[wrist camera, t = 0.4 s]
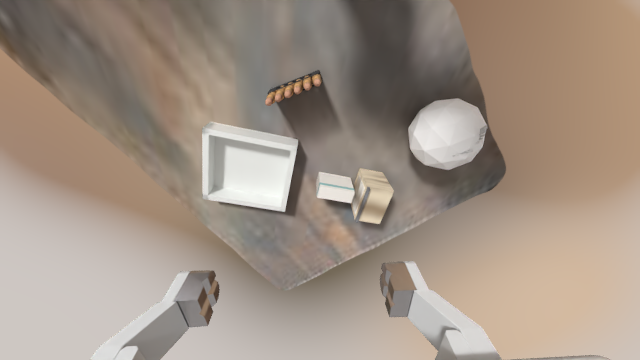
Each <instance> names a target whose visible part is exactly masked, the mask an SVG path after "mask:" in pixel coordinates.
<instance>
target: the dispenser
mask: <svg viewBox="0 0 640 360" xmlns="http://www.w3.org/2000/svg"><path fill="white" fill-rule="evenodd" d="M353 188H354V190H355V193H354V196H353V199H352V202H351V206H352V210H353V214H354V218H355V222H356V223H358V221H363V222H370V223H376V224H380V222H381V220H382V218H383V216H384V213H385V211H386V209H387V206H388V204H389V202H390V199H391V197H392V195H393V192H394V191H393V189H392V188H391V186H390V184H389V183H388V181H387V179H386V177H385V176H384V174H383V173H382V172H377V171H372V170H366V169H361V168H360V169H359V172H358V175H357V178H356V181H355V184H354V187H353Z"/></svg>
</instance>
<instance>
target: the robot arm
mask: <svg viewBox="0 0 640 360" xmlns="http://www.w3.org/2000/svg"><path fill="white" fill-rule="evenodd" d="M381 269H382V271H383V273H382V274H381V276H380V286H381V291H382V294H383V296H384V297H385V298H386V302H385V305H386V308H387V311H388V314H389V317H408V319H409V320H410V321H411V322H412V323H413V324H414V325H415V326H416V327H417V328H418V330H419V331H420V332H421V333H422V334H423V335H424V336H425V337H426V338H427V339H428V340H429V342H430V343H431V344H432V345H433V346H434V347H435V348H436V349H437V350H438V354H437V356H436V358H435V360H502V359H501V357H500V356H499V354H498V353H497V351H496V349H495V348H494V346H493V344H492V343H491V342H490V340H489V338H488V337H487V335H486V333H485V332H484V330H483V328H482V327H480V326H479V325H478V324H477V323H475V322H474V321H472V320H471V319H470V318H469V317H467V316H466V315H465V314H463V313H462V312H461V311H459V310H458V309H457V308H456V307H454V306H453V305H451V304H450V303H449V302H448V301H446V300H445V299H444V298H442V297H441V296H440V295H438V294H437V293H436V292H434V291H433V290H429V289H428V287H427V285H426V283H425V281H424V279H423V277H422V275H421V273H420V271H419V269H418V267H417V265H416V263H415V262H414V261H411V262H409V261H408V262H388V263H383V264H382V268H381ZM215 277H216V275H215V272H214V271H181V272H180V273H178V274H177V276H176V278H175V279H174V281H173V283H172V285H171V286H170V288H169V289H168V291H167V293H166V294H165V296H164V298H163V299H162V301H161V302H159V303H156V304H155V305H154V306H152V307H151V308H150V309H148V310H147V311H146V312H144V313H143V314H142V315H140V316H139V317H138V318H137V319H135V320H134V321H133V322H131V323H130V324H129V325H127V326H126V327H125V328H123V329H122V330H121V331H120V332H118V333H117V334H115V335H114V336H113V337H111V338H110V339H109V340H107V341H106V342H105V343H103V344H102V345H101V346H99V348H98V349H97V351H96V352H95V354H94V355H93V356H92V358H91V359H90V360H160V359H161V358H162V357H163V356H164V355H165V354H166V353H167V352H168V350H169V349H170V348H171V347H172V346H173V345H174V344H175V343H176V342H177V341H178V340H179V339H180V338H181V336H182V335H183V334H184V333H185V332H186V331H187V330H188V329H189V328H188V327H200V326H208V324H209V321H210V319H211V316H212V313H213V310H212V308H211V307H212V306H213V305H214V304H216V303H217V300H218V296H219V284H218V282H217V281H216V280H214V279H215ZM512 360H610V359H608V358H605V357H602V356H596V355H585V356H568V357H549V358H531V359H512Z"/></svg>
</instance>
